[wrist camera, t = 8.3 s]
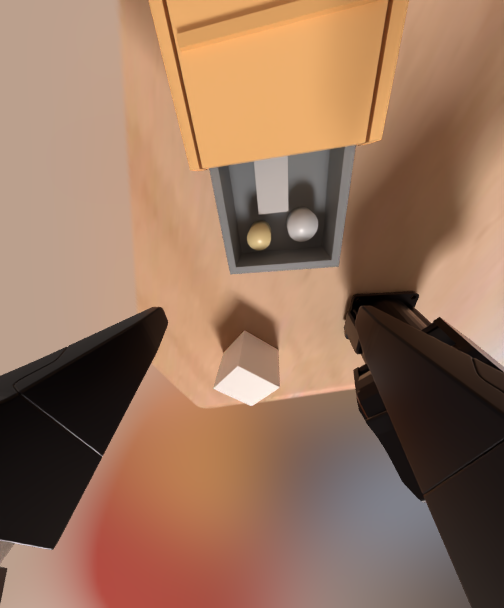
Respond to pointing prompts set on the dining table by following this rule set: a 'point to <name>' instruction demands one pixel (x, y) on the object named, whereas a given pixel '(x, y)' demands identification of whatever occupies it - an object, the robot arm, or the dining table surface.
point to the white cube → (248, 370)
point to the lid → (277, 74)
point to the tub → (284, 210)
